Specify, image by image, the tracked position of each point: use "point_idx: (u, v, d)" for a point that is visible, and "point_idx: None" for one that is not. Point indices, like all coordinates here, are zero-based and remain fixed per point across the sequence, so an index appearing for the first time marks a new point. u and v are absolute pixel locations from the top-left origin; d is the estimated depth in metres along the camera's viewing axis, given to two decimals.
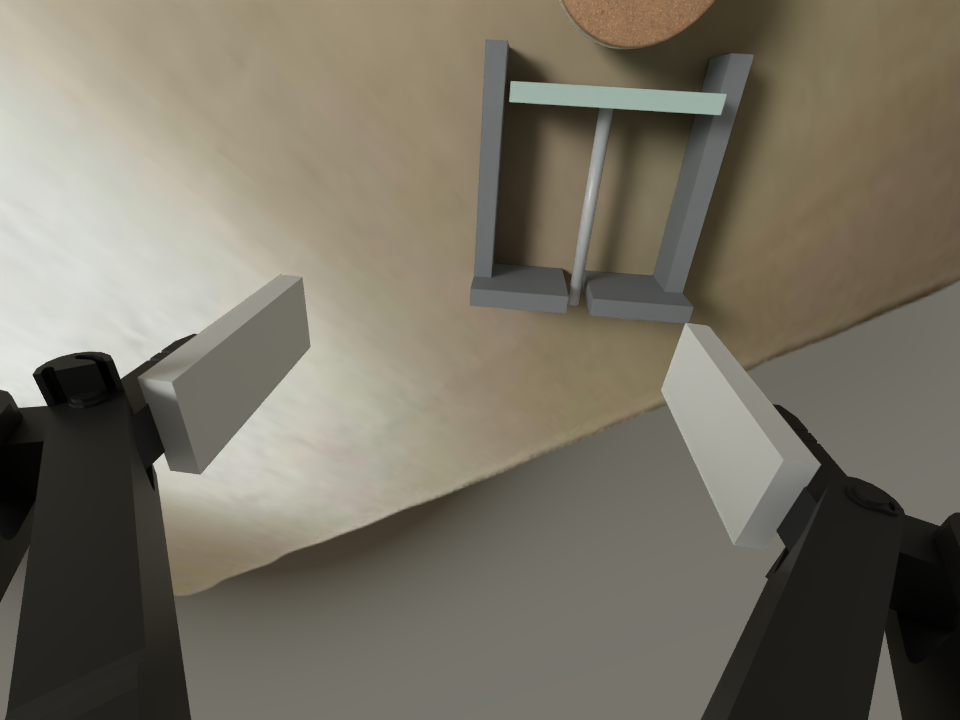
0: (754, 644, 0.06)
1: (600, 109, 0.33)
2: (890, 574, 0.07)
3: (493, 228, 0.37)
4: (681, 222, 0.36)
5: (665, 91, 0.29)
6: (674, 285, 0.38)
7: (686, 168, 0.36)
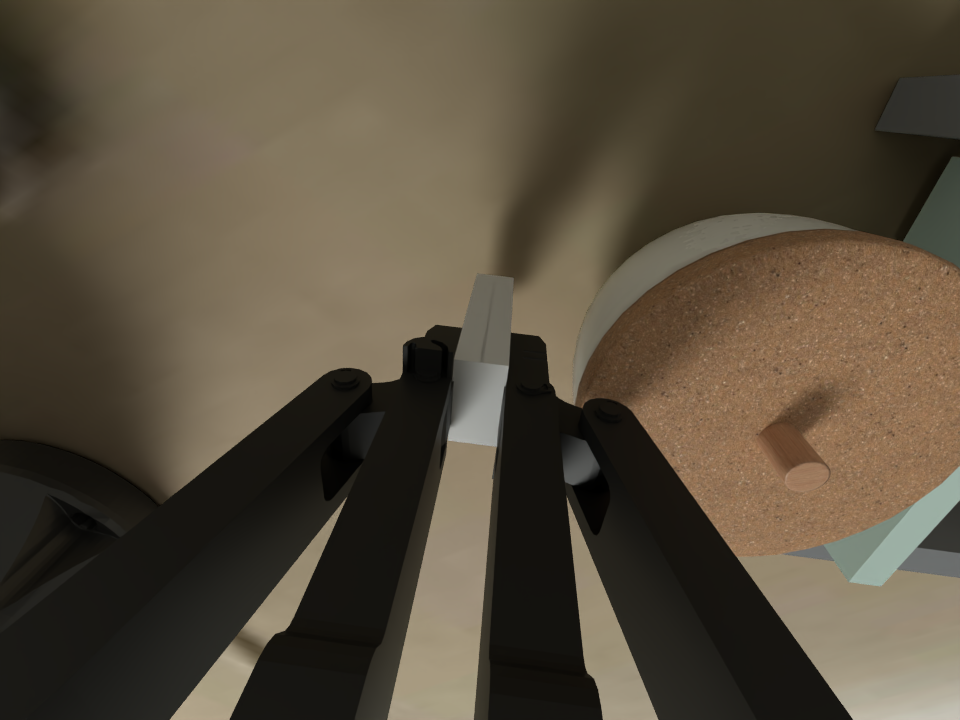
0: (493, 550, 0.07)
1: None
2: (557, 438, 0.09)
3: None
4: None
5: None
6: None
7: None
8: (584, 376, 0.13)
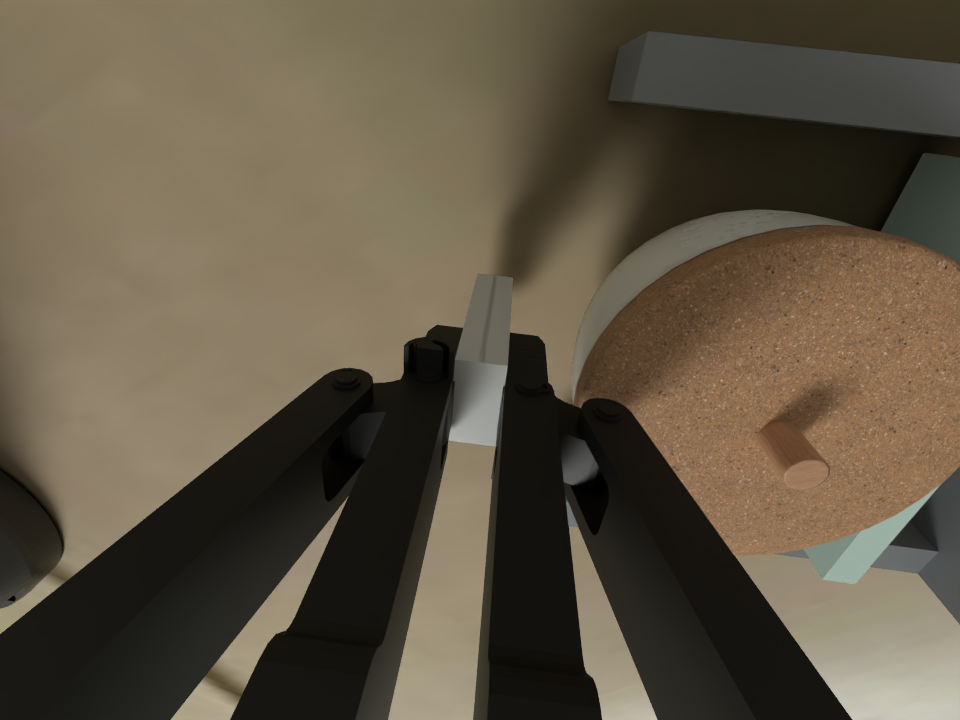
0: (492, 550, 0.07)
1: None
2: (556, 438, 0.09)
3: None
4: None
5: None
6: None
7: None
8: (581, 376, 0.13)
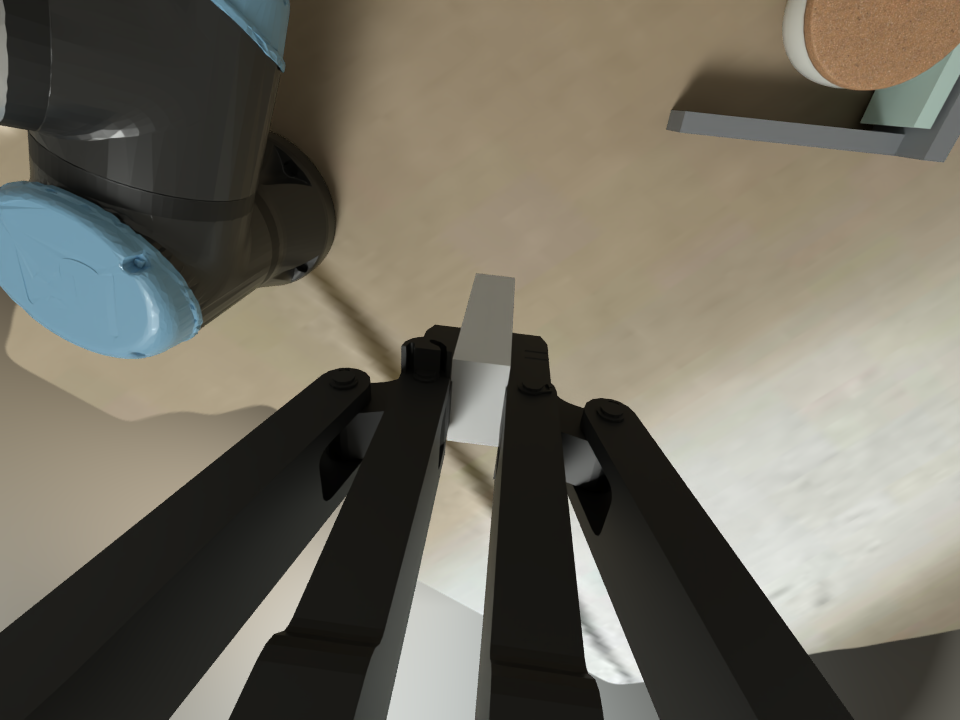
0: (494, 550, 0.07)
1: None
2: (559, 439, 0.09)
3: (848, 130, 0.35)
4: None
5: None
6: None
7: None
8: None
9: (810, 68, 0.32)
